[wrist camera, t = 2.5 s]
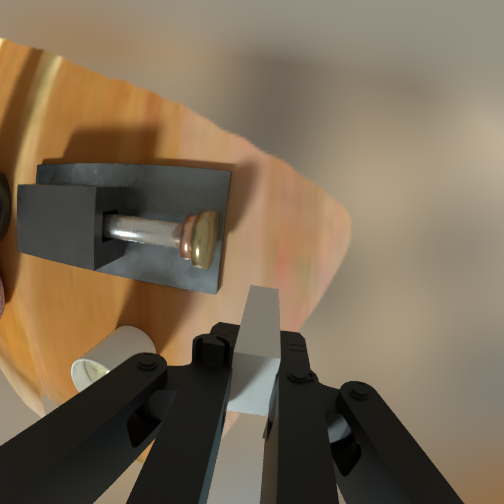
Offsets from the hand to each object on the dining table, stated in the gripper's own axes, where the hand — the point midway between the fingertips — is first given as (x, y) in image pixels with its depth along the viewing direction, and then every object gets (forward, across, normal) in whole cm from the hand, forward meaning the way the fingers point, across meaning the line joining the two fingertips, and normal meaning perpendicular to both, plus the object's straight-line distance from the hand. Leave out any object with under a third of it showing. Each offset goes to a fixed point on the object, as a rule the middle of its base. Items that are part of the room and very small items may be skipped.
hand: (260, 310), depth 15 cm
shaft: (+20, -17, 0) cm, 26 cm away
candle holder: (+22, -19, -20) cm, 35 cm away
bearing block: (+21, -23, 0) cm, 31 cm away
